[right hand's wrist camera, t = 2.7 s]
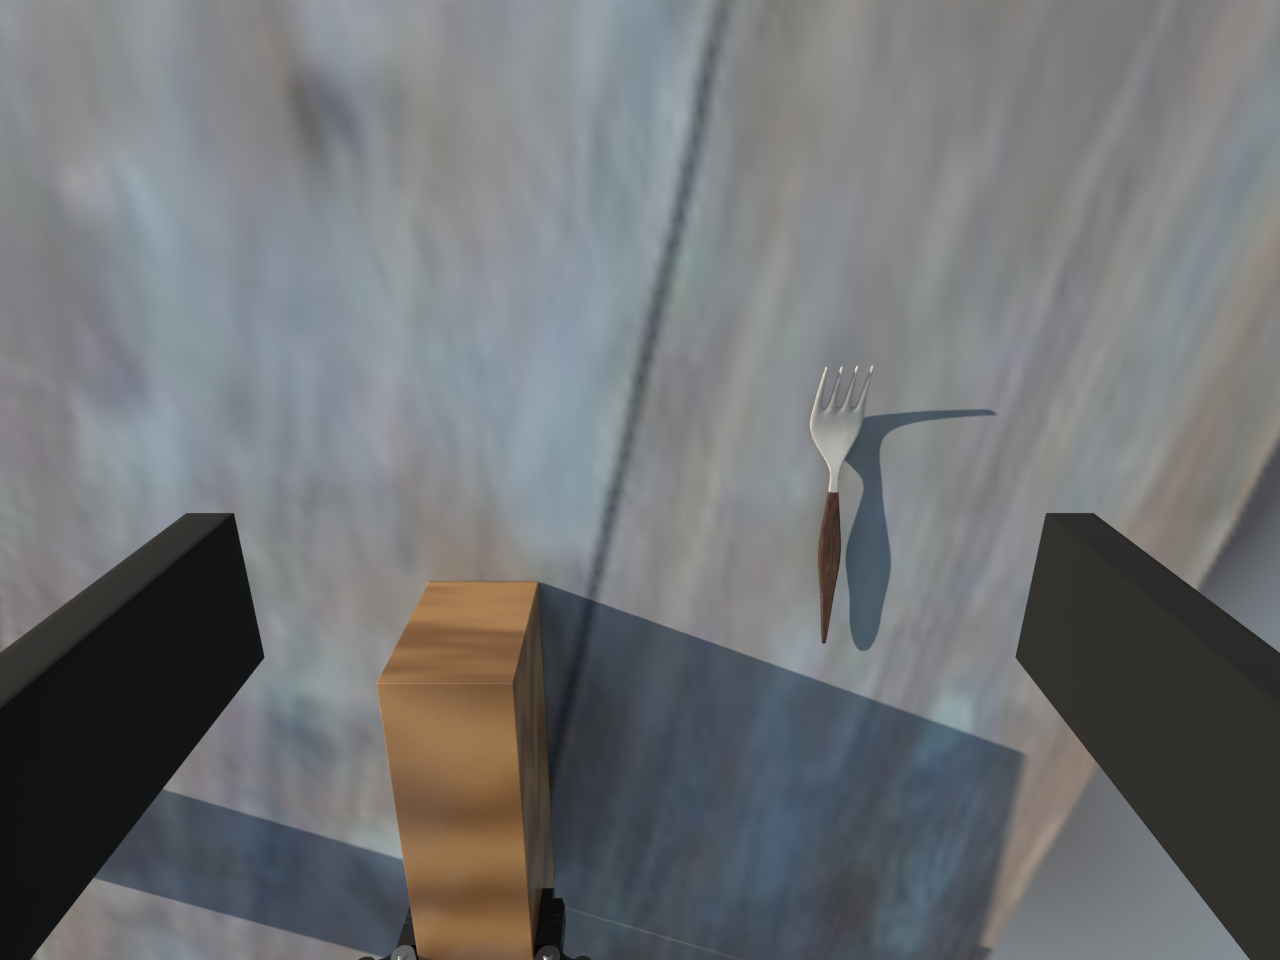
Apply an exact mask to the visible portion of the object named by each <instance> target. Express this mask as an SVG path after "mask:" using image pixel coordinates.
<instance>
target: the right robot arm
mask: <svg viewBox="0 0 1280 960" xmlns="http://www.w3.org/2000/svg"><path fill="white" fill-rule="evenodd" d="M263 659H264V653H263V648H262V643H261V638H260V634H259V629H258V624H257V620H256V615H255V610H254V606H253V601H252V596H251V591H250V587H249V582H248V577H247V573H246V568H245V563H244V558H243V554H242V549H241V544H240V540H239V535H238V530H237V525H236V521H235V516H234V513H186V514H185V515H183V516H182V517H181V518H179V519H178V520H177V521H175V522H174V523H173V524H171V525H170V526H169V527H167V528H166V529H165V530H163V531H162V532H161V533H159V534H158V535H157V536H155V537H154V538H153V539H151V540H150V541H149V542H147V543H146V544H145V545H143V546H142V547H141V548H139V549H138V550H137V551H135V552H134V553H133V554H131V555H130V556H129V557H127V558H126V559H125V560H123V561H122V562H121V563H119V564H118V565H117V566H115V567H114V568H113V569H111V570H110V571H109V572H107V573H106V574H105V575H103V576H102V577H101V578H99V579H98V580H97V581H95V582H94V583H93V584H91V585H90V586H89V587H87V588H86V589H85V590H83V591H82V592H81V593H79V594H78V595H77V596H75V597H74V598H73V599H71V600H70V601H69V602H67V603H66V604H65V605H63V606H62V607H61V608H59V609H58V610H57V611H55V612H54V613H53V614H51V615H50V616H49V617H47V618H46V619H45V620H43V621H42V622H41V623H39V624H38V625H37V626H35V627H34V628H33V629H31V630H30V631H29V632H27V633H26V634H25V635H23V636H22V637H21V638H19V639H18V640H17V641H15V642H14V643H13V644H11V645H10V646H9V647H7V648H6V649H5V650H3V651H2V652H1V653H0V960H30V959H31V958H32V956H33V955H34V954H35V953H36V951H37V950H38V949H39V947H40V946H41V945H42V944H43V942H44V941H45V940H46V938H47V937H48V936H49V935H50V933H51V932H52V931H53V929H54V928H55V927H56V925H57V924H58V923H59V922H60V920H61V919H62V918H63V916H64V915H65V914H66V913H67V911H68V910H69V909H70V907H71V906H72V905H73V904H74V902H75V901H76V900H77V898H78V897H79V896H80V895H81V893H82V892H83V891H84V889H85V888H86V887H87V886H88V884H89V883H90V882H91V880H92V879H93V878H94V876H95V875H96V874H97V873H98V871H99V870H100V869H101V867H102V866H103V865H104V864H105V862H106V861H107V860H108V858H109V857H110V856H111V855H112V853H113V852H114V851H115V849H116V848H117V847H118V846H119V844H120V843H121V842H122V840H123V839H124V838H125V837H126V835H127V834H128V833H129V831H130V830H131V829H132V828H133V826H134V825H135V824H136V822H137V821H138V820H139V818H140V817H141V816H142V815H143V813H144V812H145V811H146V809H147V808H148V807H149V806H150V804H151V803H152V802H153V800H154V799H155V798H156V797H157V795H158V794H159V793H160V791H161V790H162V789H163V788H164V786H165V785H166V784H167V782H168V781H169V780H170V779H171V777H172V776H173V775H174V773H175V772H176V771H177V769H178V768H179V767H180V766H181V764H182V763H183V762H184V760H185V759H186V758H187V757H188V755H189V754H190V753H191V751H192V750H193V749H194V748H195V746H196V745H197V744H198V742H199V741H200V740H201V739H202V737H203V736H204V735H205V733H206V732H207V731H208V730H209V728H210V727H211V726H212V724H213V723H214V722H215V721H216V719H217V718H218V717H219V715H220V714H221V713H222V711H223V710H224V709H225V708H226V706H227V705H228V704H229V702H230V701H231V700H232V699H233V697H234V696H235V695H236V693H237V692H238V691H239V690H240V688H241V687H242V686H243V684H244V683H245V682H246V681H247V679H248V678H249V677H250V675H251V674H252V673H253V672H254V670H255V669H256V668H257V666H258V665H259V664H260V662H261V661H262V660H263ZM1016 659H1017V660H1018V661H1019V662H1020V664H1021V665H1022V666H1023V668H1024V669H1025V670H1026V672H1027V673H1028V674H1029V675H1030V677H1031V678H1032V679H1033V681H1034V682H1035V683H1036V684H1037V686H1038V687H1039V688H1040V690H1041V691H1042V692H1043V693H1044V695H1045V696H1046V697H1047V699H1048V700H1049V701H1050V702H1051V704H1052V705H1053V706H1054V708H1055V709H1056V710H1057V711H1058V713H1059V714H1060V715H1061V717H1062V718H1063V719H1064V721H1065V722H1066V723H1067V724H1068V726H1069V727H1070V728H1071V730H1072V731H1073V732H1074V733H1075V735H1076V736H1077V737H1078V739H1079V740H1080V741H1081V742H1082V744H1083V745H1084V746H1085V748H1086V749H1087V750H1088V751H1089V753H1090V754H1091V755H1092V757H1093V758H1094V759H1095V760H1096V762H1097V763H1098V764H1099V766H1100V767H1101V768H1102V769H1103V771H1104V772H1105V773H1106V775H1107V776H1108V777H1109V779H1110V780H1111V781H1112V782H1113V784H1114V785H1115V786H1116V788H1117V789H1118V790H1119V791H1120V793H1121V794H1122V795H1123V797H1124V798H1125V799H1126V800H1127V802H1128V803H1129V804H1130V806H1131V807H1132V808H1133V809H1134V811H1135V812H1136V813H1137V815H1138V816H1139V817H1140V818H1141V820H1142V821H1143V822H1144V824H1145V825H1146V826H1147V828H1148V829H1149V830H1150V831H1151V833H1152V834H1153V835H1154V836H1155V838H1156V839H1157V840H1158V842H1159V843H1160V844H1161V846H1162V847H1163V848H1164V849H1165V851H1166V852H1167V853H1168V855H1169V856H1170V857H1171V858H1172V860H1173V861H1174V862H1175V864H1176V865H1177V866H1178V867H1179V869H1180V870H1181V871H1182V873H1183V874H1184V875H1185V876H1186V878H1187V879H1188V880H1189V882H1190V883H1191V884H1192V886H1193V887H1194V888H1195V889H1196V891H1197V892H1198V893H1199V895H1200V896H1201V897H1202V898H1203V900H1204V901H1205V902H1206V904H1207V905H1208V906H1209V907H1210V909H1211V910H1212V911H1213V912H1214V914H1215V915H1216V916H1217V918H1218V919H1219V920H1220V922H1221V923H1222V924H1223V925H1224V927H1225V928H1226V929H1227V931H1228V932H1229V933H1230V935H1231V936H1232V937H1233V938H1234V940H1235V941H1236V942H1237V944H1238V945H1239V946H1240V947H1241V949H1242V950H1243V951H1244V953H1245V954H1246V955H1247V956H1248V958H1249V959H1250V960H1280V653H1279V652H1278V651H1277V650H1275V649H1274V648H1273V647H1271V646H1270V645H1269V644H1267V643H1266V642H1265V641H1263V640H1262V639H1261V638H1259V637H1258V636H1257V635H1255V634H1254V633H1253V632H1251V631H1250V630H1249V629H1247V628H1246V627H1245V626H1243V625H1242V624H1241V623H1239V622H1238V621H1237V620H1235V619H1234V618H1233V617H1231V616H1230V615H1229V614H1227V613H1226V612H1225V611H1223V610H1222V609H1221V608H1219V607H1218V606H1217V605H1215V604H1214V603H1213V602H1211V601H1210V600H1209V599H1207V598H1206V597H1205V596H1203V595H1202V594H1201V593H1199V592H1198V591H1197V590H1195V589H1194V588H1193V587H1191V586H1190V585H1189V584H1187V583H1186V582H1185V581H1183V580H1182V579H1181V578H1179V577H1178V576H1177V575H1175V574H1174V573H1173V572H1171V571H1170V570H1169V569H1167V568H1166V567H1165V566H1163V565H1162V564H1161V563H1159V562H1158V561H1157V560H1155V559H1154V558H1153V557H1151V556H1150V555H1149V554H1147V553H1146V552H1145V551H1143V550H1142V549H1141V548H1139V547H1138V546H1137V545H1135V544H1134V543H1133V542H1131V541H1130V540H1129V539H1127V538H1126V537H1125V536H1123V535H1122V534H1121V533H1119V532H1118V531H1117V530H1115V529H1114V528H1113V527H1111V526H1110V525H1109V524H1107V523H1106V522H1105V521H1103V520H1102V519H1101V518H1099V517H1098V516H1097V515H1095V514H1094V513H1046V516H1045V521H1044V525H1043V530H1042V535H1041V540H1040V544H1039V549H1038V554H1037V558H1036V563H1035V568H1034V573H1033V577H1032V582H1031V587H1030V591H1029V596H1028V601H1027V606H1026V610H1025V615H1024V620H1023V624H1022V629H1021V634H1020V638H1019V643H1018V648H1017V653H1016Z"/></svg>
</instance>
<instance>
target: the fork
mask: <svg viewBox="0 0 1280 960" xmlns="http://www.w3.org/2000/svg"><path fill="white" fill-rule="evenodd" d="M873 369H874V366H873V365H872V366H871V369H870V371H869V374H868V376H867V379H866V382H865V384H864V387H863V389H862V392H861V395H860V398H859V401H858V403H857V405H856V406H855V407H852V406H851V400H852V395H853V390H854V385H855V380H856V375H857V371H858V366H856V369H855V371H854V374H853V377H852V379H851V382H850V385H849V388H848V390H847V393H846V397H845V400H844V402H843V405H842V406H841V407H840V408H838V407H837V397H838V391H839V386H840V380H841V375H842V370H843V367H842V366H841V369H840V371H839V374H838V377H837V380H836V383H835V386H834V389H833V392H832V395H831V398H830V401H829V404H828V406H827V407H826V408H823V407H822V400H823V393H824V387H825V380H826V375H827V370H828V367H825V371H824V374H823V377H822V380H821V383H820V386H819V390H818V393H817V396H816V400H815V404H814V407H813V411H812V415H811V420H810V430H811V434H812V437H813V440H814V442H815V444H816V446H817V447H818V449H819V451H820V452H821V454H822V456H823V457H824V459H825V461H826V463H827V465H828V467H829V470H830V484H829V490H828V495H827V501H826V506H825V511H824V516H823V521H822V527H821V533H820V539H819V549H818V567H819V583H820V601H821V637H822V643H825V642H826V638H827V633H828V627H829V621H830V614H831V608H832V602H833V596H834V591H835V586H836V580H837V575H838V569H839V563H840V553H841V534H840V514H839V496H838V476H839V471H840V468H841V466H842V463H843V461H844V460H845V458H846V456H847V454H848V453H849V451H850V449H851V448H852V446H853V444H854V442H855V440H856V438H857V436H858V434H859V432H860V429H861V426H862V423H863V417H864V409H865V403H866V398H867V393H868V389H869V384H870V380H871V376H872V372H873Z"/></svg>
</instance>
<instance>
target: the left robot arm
mask: <svg viewBox="0 0 1280 960" xmlns="http://www.w3.org/2000/svg"><path fill="white" fill-rule="evenodd" d="M565 926H566V919H565V905H564V902H563V899H562V898H555V891H554V888H542V894H541V901H540V909H539V916H538V924H537V931H536V938H535V957H534V959H533V960H591V959H590V958H588V957H585V956H580V957H577V958H575V959H571V958H569V957H567V956H565V955H564V954H563V947H564V936H565ZM359 960H375V959H374V958H372V957H363V958H360V959H359ZM379 960H418V954H417V947H416V941H415V934H414V928H413V921H412V914H411V908H410V907H409V910H408V913H407V917H406V920H405V923H404V926H403V929H402V932H401V936H400V939H399V942H398V945H397V947H396V949H395V950H394V951H393V953H392V954H391V955H389V956H388V957H385V958H383V959H379Z"/></svg>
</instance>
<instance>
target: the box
mask: <svg viewBox="0 0 1280 960" xmlns="http://www.w3.org/2000/svg"><path fill="white" fill-rule="evenodd" d="M377 690H378V696H379V703H380V709H381V716H382V723H383V729H384V736H385V742H386V749H387V756H388V762H389V769H390V776H391V782H392V789H393V795H394V802H395V809H396V815H397V822H398V828H399V835H400V842H401V848H402V855H403V862H404V868H405V875H406V881H407V888H408V895H409V901H410V908H411V914H412V921H413V928H414V934H415V941H416V947H417V954H418V960H533V959H534V957H535V938H536V931H537V924H538V916H539V909H540V901H541V894H542V888H553V886H554V860H553V842H552V824H551V806H550V788H549V770H548V751H547V733H546V715H545V697H544V679H543V661H542V643H541V625H540V606H539V588H538V582H428V584H427V586H426V588H425V590H424V592H423V594H422V596H421V598H420V600H419V602H418V604H417V606H416V608H415V610H414V612H413V614H412V616H411V618H410V619H409V621H408V623H407V625H406V627H405V629H404V631H403V633H402V635H401V637H400V639H399V641H398V643H397V645H396V647H395V649H394V651H393V653H392V655H391V656H390V658H389V660H388V662H387V664H386V666H385V668H384V670H383V672H382V674H381V676H380V678H379V680H378V682H377Z"/></svg>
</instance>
